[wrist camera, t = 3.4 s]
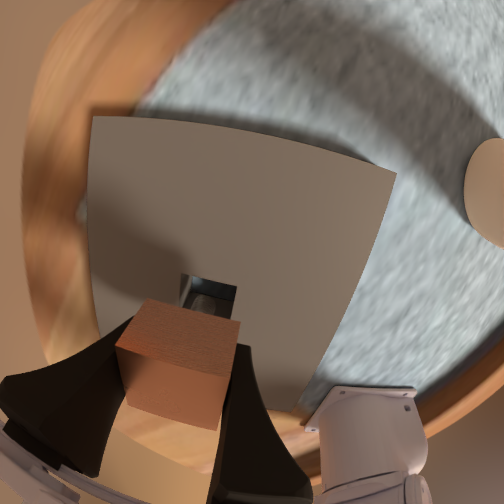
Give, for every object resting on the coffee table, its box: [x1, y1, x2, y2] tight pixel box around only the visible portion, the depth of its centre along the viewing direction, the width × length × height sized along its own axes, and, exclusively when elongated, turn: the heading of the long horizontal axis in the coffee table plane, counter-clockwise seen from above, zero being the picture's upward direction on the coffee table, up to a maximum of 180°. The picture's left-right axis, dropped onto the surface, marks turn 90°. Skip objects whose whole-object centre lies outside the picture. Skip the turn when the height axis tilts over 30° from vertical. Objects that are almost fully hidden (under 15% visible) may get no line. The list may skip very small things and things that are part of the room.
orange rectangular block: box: [115, 295, 241, 431], centre depth 12 cm, size 4×4×6 cm
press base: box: [87, 116, 397, 412], centre depth 16 cm, size 15×18×3 cm
